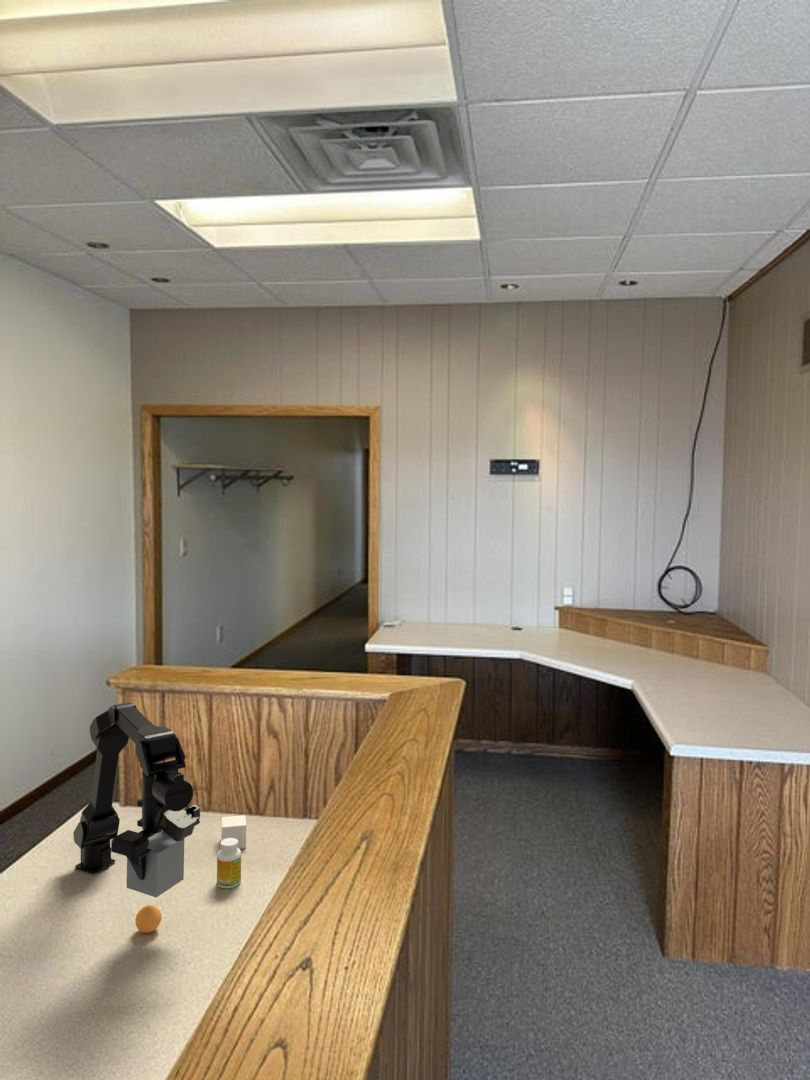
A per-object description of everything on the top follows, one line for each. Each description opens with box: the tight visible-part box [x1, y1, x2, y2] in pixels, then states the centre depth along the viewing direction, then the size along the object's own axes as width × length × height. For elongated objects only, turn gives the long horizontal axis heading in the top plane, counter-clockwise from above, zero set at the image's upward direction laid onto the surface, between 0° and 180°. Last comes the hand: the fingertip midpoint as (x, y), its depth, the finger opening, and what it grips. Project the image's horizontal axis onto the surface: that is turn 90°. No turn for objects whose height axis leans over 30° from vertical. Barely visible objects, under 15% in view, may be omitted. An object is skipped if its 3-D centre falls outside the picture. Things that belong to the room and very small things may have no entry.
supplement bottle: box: [216, 838, 242, 889], centre depth 165 cm, size 5×5×10 cm
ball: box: [135, 904, 162, 934], centre depth 146 cm, size 5×5×5 cm
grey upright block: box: [126, 831, 185, 898], centre depth 145 cm, size 8×8×9 cm
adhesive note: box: [220, 814, 247, 850], centre depth 184 cm, size 6×6×6 cm
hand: (156, 870), depth 145 cm, fingers closed on grey upright block, 8 cm apart
